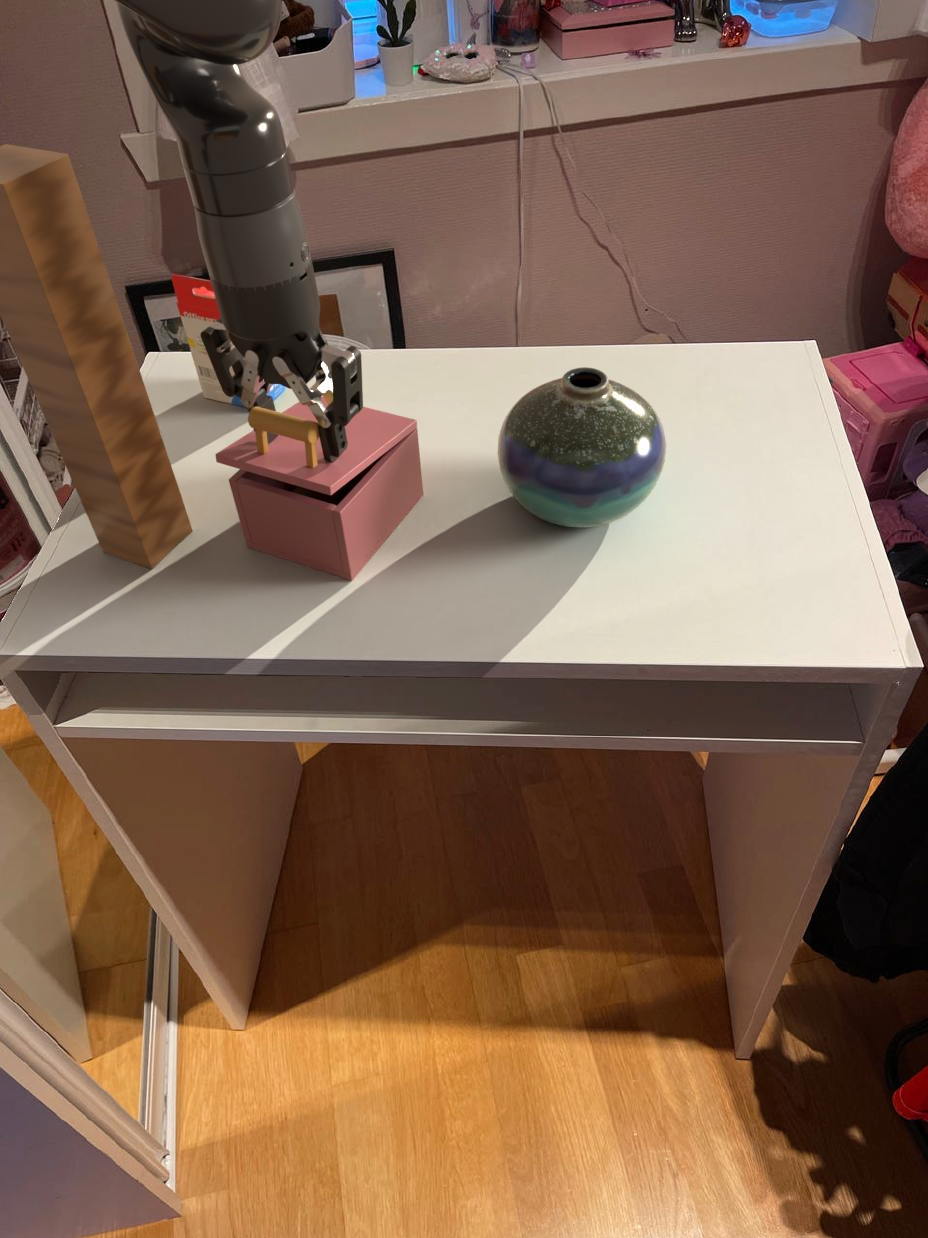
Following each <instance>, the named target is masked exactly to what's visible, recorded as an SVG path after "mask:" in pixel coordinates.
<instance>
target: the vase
mask: <svg viewBox="0 0 928 1238" xmlns="http://www.w3.org/2000/svg"><path fill="white" fill-rule="evenodd" d="M666 453H667V441H666V433H665V429H664V427H663V423H662V421H661V419H660V417H659V415H658V413H657V412H656V410H655V408H654V407H653V406H652V405H651V403H649V401H648V400H646V398H645V397H643V396H642V395H641V394H639V392H636V391H635V390H634V389H633V388H630V387H628V386H626V385H624V384H622V383H621V382H617V381H615V380H612V379H610V378H609V377H608V375H607V374H606V373H605V372H603V371H602V370H601V369H597V368H594V367H586V366H585V367H584V366H582V367H575V368H573V369H570V370H568V371H567V372H565V373H564V374H563V376H562V377H560V378H556V379H552V380H550V381H548V382H545V383H542V384H540V385H538V386H535V388H533V389H531V390H529V391H528V392H527V393H525V394H524V395H523V396H521V397H520V398H519V399H518V401H516V402H515V403H514V405H513V406H512V407H510V410H509V411H508V413H507V414H506V415H505V417H504V419H503V421H502V424H501V427H500V430H499V434H498V440H497V459H498V464H499V470H500V472H501V476H502V479H503V481H504V483H505V485H506V487H507V488H508V490H509V492H510V493H511V495H512V496H513V497H514V498H515V499H516V501H517V502H518V503H519V504H520V505H521V506H522V507H523V508H524V509H525V510H526V511H528V512H529V513H531V514H532V515H533V516H535V517H537V518H538V519H541V520H543V521H546V522H547V523H551V524H554V525H557V526H562V527H568V528H595V527H599V526H604V525H607V524H611V523H614V522H616V521H618V520H620V519H623V518H624V517H626V516H628V515H629V514H631V513H632V512H634V511H635V510H636V509H638V508H639V507H640V506H641V505H642V504H643V503H644V502H645V501H646V499H647V498H648V497H649V496H650V494H651V493H652V492H653V491H654V489H655V488H656V486H657V484H658V481H659V479H660V477H661V476H662V475H661V474H662V472H663V469H664V466H665V462H666Z"/></svg>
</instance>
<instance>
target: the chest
mask: <svg viewBox="0 0 928 1238" xmlns="http://www.w3.org/2000/svg"><path fill="white" fill-rule="evenodd" d="M418 431H419V430H418V427H417V428H416V429H415V430H413V431H412V432H411V433H410V434H408V435H407V436H406V437H405V438H403V439H402V440H401V441H399V442H398V443H397V444H396V445H394V446H393V447H392V448H391V449H389V450H388V451H387V452H385V453H384V454H383V455H382V456H380V457H379V458H378V459H377V460H375V461H374V462H373V463H372V464H370V465H369V466H368V467H366V468H365V469H364V470H363V471H361V472H360V473H359V474H358V475H356V476H355V477H354V478H352V479H351V480H350V481H349V482H347V483H346V484H345V485H344V486H342V487H341V489H343V490H344V495H345V498H344V499H343V500H342V501H341V502H340V503H339V504H338V505H337V506H336V505H333V504H330V503H327V502H323V501H320V500H317V499H313V498H310V497H306V496H303V495H300V494H296V493H293V491H294V490H295V489H296V488H297V486H296V485H293V484H290V483H286V482H283V481H279V480H276V479H272V478H269V477H265V476H262V475H259V474H255V473H252V472H248V471H245V470H241V469H238V470H237V471H236V472H235V473H234V474H233V475H232V476H231V477H230V478H228V483H229V487H230V491H231V494H232V498H233V500H234V501H233V502H234V505H235V509H236V513H237V516H238V519H239V522H240V526H241V529H242V533H243V536H244V540H245V544H246V547H248V548H251V549H253V550H256V551H259V552H263V553H264V554H265V553H266V554H268V555H272V556H275V557H278V558H281V559H283V560H286V561H290V562H293V563H297V564H299V565H302V566H305V567H309V568H311V569H314V570H317V571H321V572H324V573H327V574H330V575H333V576H335V577H339V578H343V579H345V580H348V581H351V582H352V581H353V580H354V579H355V578H356V577H357V576H358V575H359V573H360V572H361V571H362V570H363V568H364V567H365V566H366V565H367V564H368V562H369V561H370V560H372V558H373V556H374V555H375V554H377V552H378V551H379V549H380V548H381V547H382V546H383V544H384V543H386V541H387V540H388V539H389V537H390V536H391V535H392V533H393V532H394V531H395V530H397V527H398V526H399V525H400V524H401V523H402V522H403V520H404V519H405V518H406V517H407V515H409V513H410V512H411V510H412V509H413V508H414V507H415V506H416V505H417V504H418V502H419V501H420V500H421V499H422V497H423V496H424V488H423V486H424V485H423V476H422V465H421V454H420V444H419V443H420V442H419V432H418Z"/></svg>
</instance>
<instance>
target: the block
mask: <svg viewBox="0 0 928 1238" xmlns="http://www.w3.org/2000/svg"><path fill="white" fill-rule="evenodd" d="M293 493H296V494H300V495H303V496H306V497H310V498H313V499H317V500H320V501H323V502H327V503H330V504H333V505H336V506H337V505H338V504H339V503H340V502H341V501H342V500H343V499H344V498H345V495H344V490H343V489H341V488H340V489H339V490H337V491H336V492H335V493H333V494H332V495H327V494H324V493H320V492H317V491H314V490H310V489H307V488H303V487H300V486H297V488H296V489H295V490H294V491H293Z"/></svg>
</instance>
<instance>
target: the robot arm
mask: <svg viewBox="0 0 928 1238" xmlns="http://www.w3.org/2000/svg"><path fill="white" fill-rule="evenodd" d="M113 1H114V2H115V4H116V8H117V12H118V15H119V18H120V22H121V26H122V28H123V31H124V33H125V36H126V37H127V38H126V39H127V40H128V41H127V42H128V43H129V45H130V48H131V50H132V52H133V54H134V56H135V59H136V61H137V63H138V65H139V67H140V69H141V71H142V74H143V76H144V77H145V80H146V82H147V84H148V86H149V88H150V90H151V93H152V95H153V97H154V99H155V101H156V104H157V105H158V107H159V109H160V111H161V112H162V115H163V116H164V118H165V119H166V122H167V123H168V126H169V127H170V129H171V132H172V133H173V136H174V138H175V140H176V144H177V148H178V153H179V158H180V162H181V165H182V168H183V171H184V172H183V173H184V176H185V179H186V183H187V187H188V190H189V194H190V198H191V201H192V205H193V209H194V215H195V220H196V221H195V222H196V229H197V235H198V239H199V243H200V247H201V251H202V255H203V258H204V261H205V265H206V269H207V272H208V277H209V281H211V284H212V287H213V291H214V294H215V298H216V301H217V305H218V309H219V312H220V316H221V317H220V318H219V319H218V320H216V321H215V322H214V323H212V324H211V325H210V326H209V327H207V328H206V329H205V330H204V331H202V332H201V334H200V335H201V339H202V341H203V344H204V346H205V349H206V351H207V354H208V356H209V358H210V361H211V363H212V366H213V368H214V371H215V373H216V376H217V378H218V381H219V383H220V385H221V388H222V390H223V392H224V394H225V395H227V396H228V397H233V396H234V395H235V396H237V397H239V398H241V401H242V403H243V404H244V406H246V407H245V408H246V409H247V411H248V413H249V412H250V411H251V409H252V408H253V407H261V408H265V409H268V410H272V411H276V412H277V409H276V405H275V401H273V397H272V396H268V395H267V393H269V391H270V387H271V384H281V385H283V386H285V388H287V389H288V390H289V389H290V390H291V391H292V392H293V394H294V396H295V397H296V399H297V400H298V402H300V403H301V404H302V405H307V406H308V407H309V409H310V410H311V412H312V413H313V415H314V417H315V418H316V420H317V421H318V423H319V425H318V426H317V427H318V432H319V437H320V442H321V446H322V451H323V456H324V459H325V460H326V461H330V462H334V461H336V460H337V459H338V457H339V456H340V455H341V454H342V453H343V452H344V451H345V450H346V449H347V446H348V441H347V436H346V431H345V426H346V425H347V424H348V423H349V422H350V420H351V419H352V418H353V417H354V416H355V415H356V414H357V413H359V412H360V411H361V410H362V408H363V407H364V397H363V396H364V393H363V392H364V391H363V366H362V364H363V363H362V353H361V351H360V349H359V348H358V347H356V346H354V345H350V346H349V347H347V348H346V349H345V350H344V349H341V348H337V347H334V346H331V345H329V343H328V341H327V339H326V337H325V335H324V333H323V332H322V330H321V328H320V317H321V316H320V315H321V301H320V296H319V291H318V285H317V280H316V275H315V271H314V265H313V259H312V255H311V249H310V243H309V238H308V232H307V227H306V223H305V219H304V215H303V212H302V209H301V205H300V203H299V201H298V196H297V192H296V189H295V184H294V178H293V174H292V169H291V164H290V158H289V153H288V148H287V142H286V138H285V133H284V129H283V128H284V127H283V125H282V121H281V118H280V116H279V113H278V111H277V110H276V108H275V106H274V105H273V104H272V103H271V102H270V101H269V100H268V99H267V98H266V97H264V96H263V94H261V93H259V92H258V91H257V90H256V89H254V88H253V87H252V86H251V85H250V83H248V81H247V80H246V79H245V77H244V75H243V73H242V71H241V68H240V65H242V64H243V65H244V64H246V63H249V62H252V61H253V60H256V59H257V58H258V57H260V56H261V55H262V54H264V53H265V52H266V51H267V49H269V48H270V46H271V45H272V43H273V41H274V40H275V38H276V36H277V34H278V31H279V28H280V24H281V20H282V10H283V8H282V7H283V4H282V3H283V2H282V0H113ZM243 357H244V359H243ZM231 366H232V369H233V371H234V374H235V375H234V376H233V377H232V376H231V373H230V367H231ZM314 377H315V383H313V385H312V386H310V388H309V386H308V385H307V384H308V383H309V382H310V381H312V379H314ZM321 396H322V397H324V399H325V400H326V402H327V404H328V406H327V407H325V406H324V404H323V402H322V401H321ZM252 429H253V430H254V431H255V428H252ZM277 436H278V435H277V434H273V433H270V432H267V441H268V444H270V443H271V442H272V441H273V440H274V439H275V438H276V437H277Z"/></svg>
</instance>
